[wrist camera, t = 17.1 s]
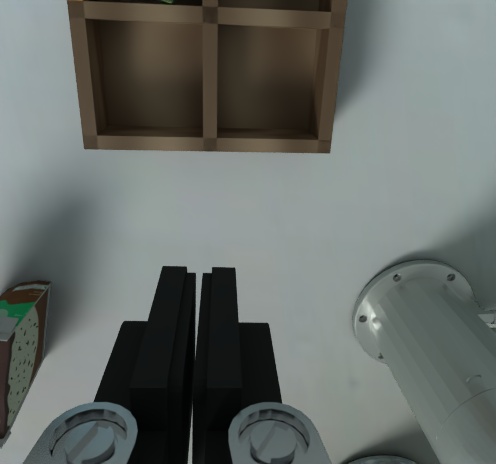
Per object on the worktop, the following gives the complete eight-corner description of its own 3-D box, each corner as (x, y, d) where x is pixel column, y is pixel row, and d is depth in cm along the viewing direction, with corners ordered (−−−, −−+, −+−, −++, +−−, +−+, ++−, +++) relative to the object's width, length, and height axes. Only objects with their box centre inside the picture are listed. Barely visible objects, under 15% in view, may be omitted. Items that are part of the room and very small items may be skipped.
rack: (341, -127, 31) (365, -157, 26) (315, 139, 38) (330, 153, 33) (67, -147, 29) (39, -182, 24) (96, 134, 37) (79, 149, 32)
